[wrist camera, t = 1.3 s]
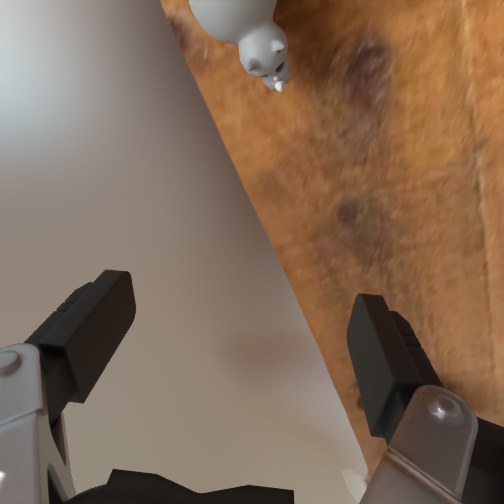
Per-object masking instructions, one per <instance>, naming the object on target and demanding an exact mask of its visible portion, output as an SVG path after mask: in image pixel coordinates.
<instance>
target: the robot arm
mask: <svg viewBox="0 0 504 504" xmlns="http://www.w3.org/2000/svg"><path fill="white" fill-rule="evenodd" d="M135 313H136V304H135V298H134V291H133V285H132V279H131V275H130V273H129V272H128V271H116V270H105V271H104V272H103V273H102V274H101V275H100V276H99V277H98V278H97V279H96V280H95V281H94V282H93V283H92V282H89V283H87V284H85V285H83V286H82V287H80V288H78V289H76V290H75V291H74V292H73V293H72V294H71V295H70V296H69V297H68V298H67V299H66V300H65V303H62V304H61V305H60V306H59V307H58V308H57V311H54V312H53V313H52V314H51V315H50V317H48V318H47V319H46V321H45V322H44V323H43V324H42V325H41V326H40V327H39V328H38V329H37V330H36V331H35V332H34V333H33V334H32V335H31V336H30V337H29V338H28V339H27V340H26V341H25V342H24V343H19V344H12V345H9V346H5V347H3V348H0V504H294V491H293V490H287V489H278V488H270V487H261V486H252V485H246V486H240V487H235V488H230V489H224V490H219V491H213V492H208V493H197V492H194V491H192V490H190V489H188V488H186V487H183V486H181V485H179V484H177V483H175V482H173V481H170V480H168V479H166V478H164V477H162V476H160V475H157V474H152V473H143V472H135V471H126V470H118V469H113V470H112V473H111V475H110V477H109V480H108V482H107V484H105V485H101V486H98V487H94V488H91V489H89V490H86V491H84V492H82V493H80V494H77V495H76V491H75V488H74V484H73V481H72V475H71V469H70V462H69V453H68V446H67V438H66V429H65V421H64V416H63V412H62V411H63V409H64V408H65V406H66V405H67V403H68V402H77V403H84V402H85V400H86V399H87V397H88V395H89V394H90V392H91V390H92V388H93V387H94V385H95V384H96V382H97V380H98V379H99V377H100V376H101V374H102V372H103V371H104V369H105V367H106V365H107V364H108V362H109V361H110V359H111V357H112V356H113V354H114V353H115V351H116V349H117V348H118V346H119V344H120V343H121V341H122V339H123V338H124V336H125V334H126V333H127V331H128V330H129V328H130V326H131V325H132V323H133V321H134V318H135ZM347 344H348V348H349V352H350V356H351V360H352V364H353V368H354V372H355V375H356V379H357V383H358V387H359V391H360V395H361V399H362V403H363V407H364V410H365V414H366V418H367V422H368V426H369V430H370V434H371V436H373V437H382V438H385V440H386V443H387V449H386V451H385V453H384V455H383V457H382V459H381V461H380V463H379V465H378V467H377V469H376V471H375V473H374V475H373V477H372V479H371V481H370V483H369V485H368V487H367V489H366V491H365V493H364V495H363V497H362V499H361V501H360V503H359V504H504V427H502V426H499V425H496V424H494V423H491V422H488V421H486V420H483V419H481V418H478V417H476V415H475V414H474V412H473V410H472V409H471V408H470V406H469V405H468V404H467V403H466V402H465V401H464V400H463V399H462V398H460V397H459V396H458V395H456V394H455V393H453V392H451V391H449V390H447V389H445V388H444V387H443V386H442V384H441V382H440V380H439V378H438V376H437V374H436V372H435V371H434V369H433V367H432V365H431V363H430V361H429V359H428V357H427V356H426V354H425V352H424V350H423V348H421V344H420V343H419V341H418V339H417V338H416V337H415V333H414V331H413V329H412V328H411V326H410V324H409V322H408V321H407V320H405V319H404V318H403V317H402V316H401V315H400V314H399V313H398V312H396V311H389V309H388V306H387V304H386V302H385V300H384V298H383V297H382V296H381V295H372V294H361V293H359V294H357V296H356V299H355V303H354V306H353V310H352V313H351V317H350V321H349V324H348V329H347Z"/></svg>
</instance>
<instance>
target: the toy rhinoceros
mask: <svg viewBox="0 0 504 504" xmlns="http://www.w3.org/2000/svg"><path fill="white" fill-rule="evenodd" d="M276 3H277V0H189V4H190V7H191V10H192V12H193V14H194V16H195V18H196V20H197V21H198V23H199V24H200V26H201V27H202V28H203V29H204V30H205V31H206V32H207V33H208V34H209V35H210V36H212V37H213V38H215V39H217V40H219V41H221V42H224V43H230V44H238V46H239V56H240V61H241V63H242V66H243V67H244V69H245V70H246V72H247V73H248V74H250V75H251V76H254V77H259V78H261V79H262V81H263V83H264V84H265V85H266V86H267V87H269V88H270V89H271V90H275V89H277V90H278V91H280V92H282V91H284V89H285V84H287V83H288V82H289V79H290V73H291V70H290V65H289V62H288V59H287V56H288V42H287V38H286V35H285V33H284V31H283V30H282V29H281V28H280V27H279V26H277V25H276V24H275V23H274V22H273V13H274V10H275V7H276Z"/></svg>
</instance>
